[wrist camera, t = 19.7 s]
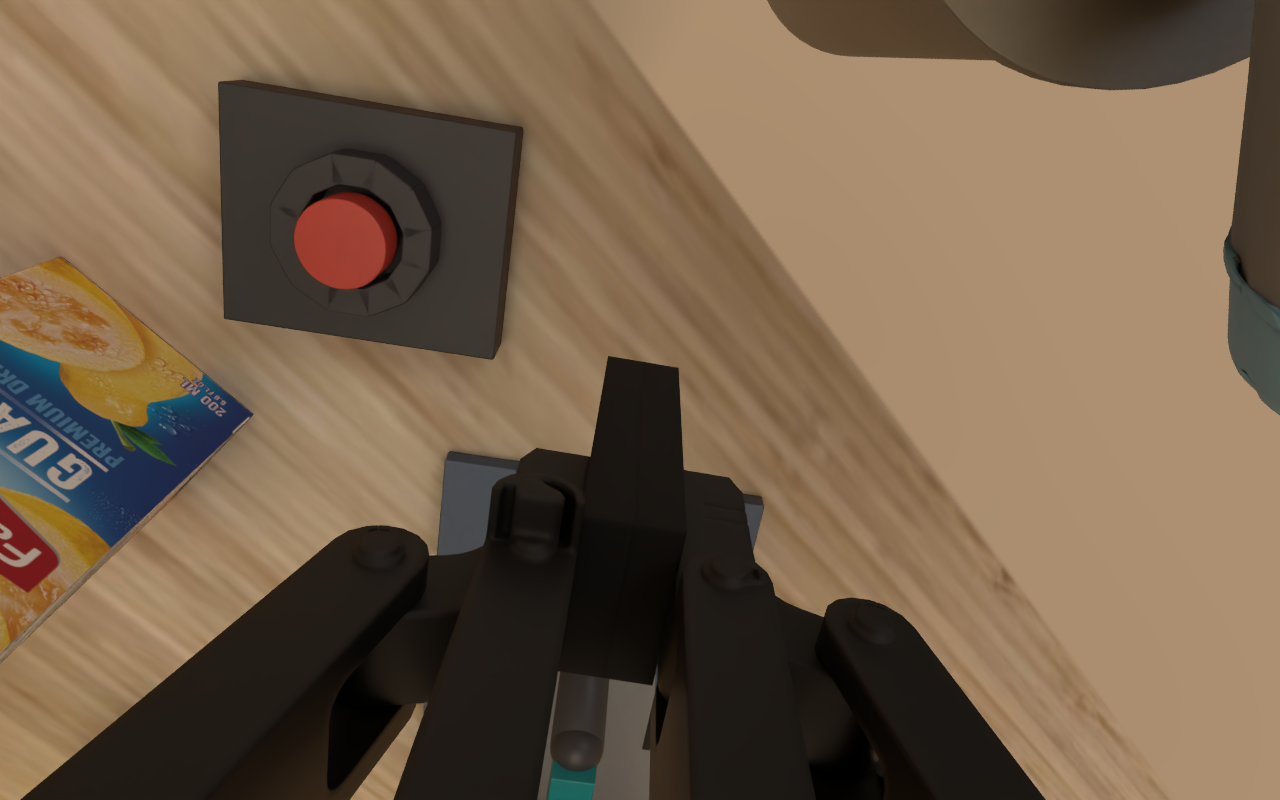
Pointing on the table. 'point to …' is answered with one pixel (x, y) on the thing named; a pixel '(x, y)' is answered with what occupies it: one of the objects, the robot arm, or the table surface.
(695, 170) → the table surface
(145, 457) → the beverage box
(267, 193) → the button base
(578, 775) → the iron
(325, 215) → the power button
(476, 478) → the ironing mat
